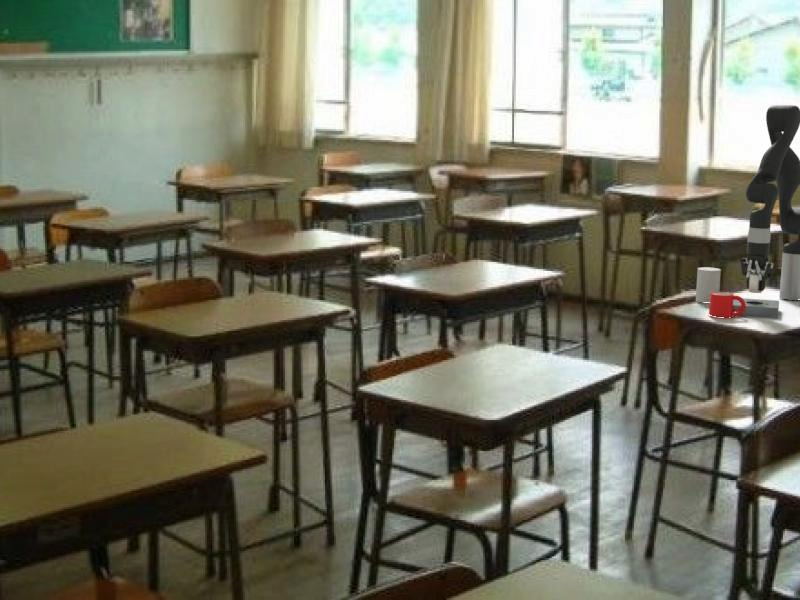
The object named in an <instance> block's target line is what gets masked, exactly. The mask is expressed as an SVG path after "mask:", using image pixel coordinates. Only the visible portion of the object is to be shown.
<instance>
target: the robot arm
mask: <svg viewBox="0 0 800 600" xmlns="http://www.w3.org/2000/svg"><path fill="white" fill-rule="evenodd" d="M765 119H766V128H767V131H768V135H769V136H768V137H769V141H770V144H771V146H770V147H769V148H768V149H767V150H765V152H764V154H763V155H762V157H761V160H760V164H759V166H758V169H757V172H756V173H755V175H754V177H753V178H752V179H751V181H750V182H749V184H748V185H747V187H746V191H745V198H746V199H747V201H748V202H749V203H753V204H764V206H763V208H762V209H755V210H752V211H750V214H749V225H748V226H749V228H748V233H747V244H746V254H747V256H746V257H743V258H740V267H741V273H742V276H745V277H746V288H747V290H749V280H750V274H758V275H759V285H758V291H762V292H764V290H765V289H766V281H767V280H770V279H772V275H773V272H774V269H775V266H776V263H775V262H771V261H770V260H769V255H770V247H771V233H772V232H771V221H772V214H773V211H774V208H775V205H776V202H777V199H778V208H779V209H778V210H779V211H778V213H779V215H778V216H779V226H780V231H782V232H783V233H784V234H788V235H798V236H797V239H796V240H795V241H791V242H789V243H788V242H787V243H785V244H783V246H782V258H781V273H780V283H779V284H780V285H779V287H780V288H779V297H780V298H782V299H781V300H784V299H788V300H787V301H792V300H798V299H800V209H797V208H793V207H792V200H793V197H794V195H795V193H796V192H797V190H798V189H799V187H800V158H799V156H798V155H797V153H796V152H795V151H794V150H793V149H792V148H791V145H792V142H793V140H794V139H795V136H796V135H797V132H798V130H799V127H800V108H799V106H797V105H792V104H791V105H790V104H789V105H788V104H786V105H784V104H783V105H781V104H779V105H778V104H777V105H775V104H774V105H770V106H769V107H768V108H767V110H766V115H765ZM775 181H776V184H774V183H773V182H775ZM762 275H763V276H762ZM780 298H779V299H780Z"/></svg>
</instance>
